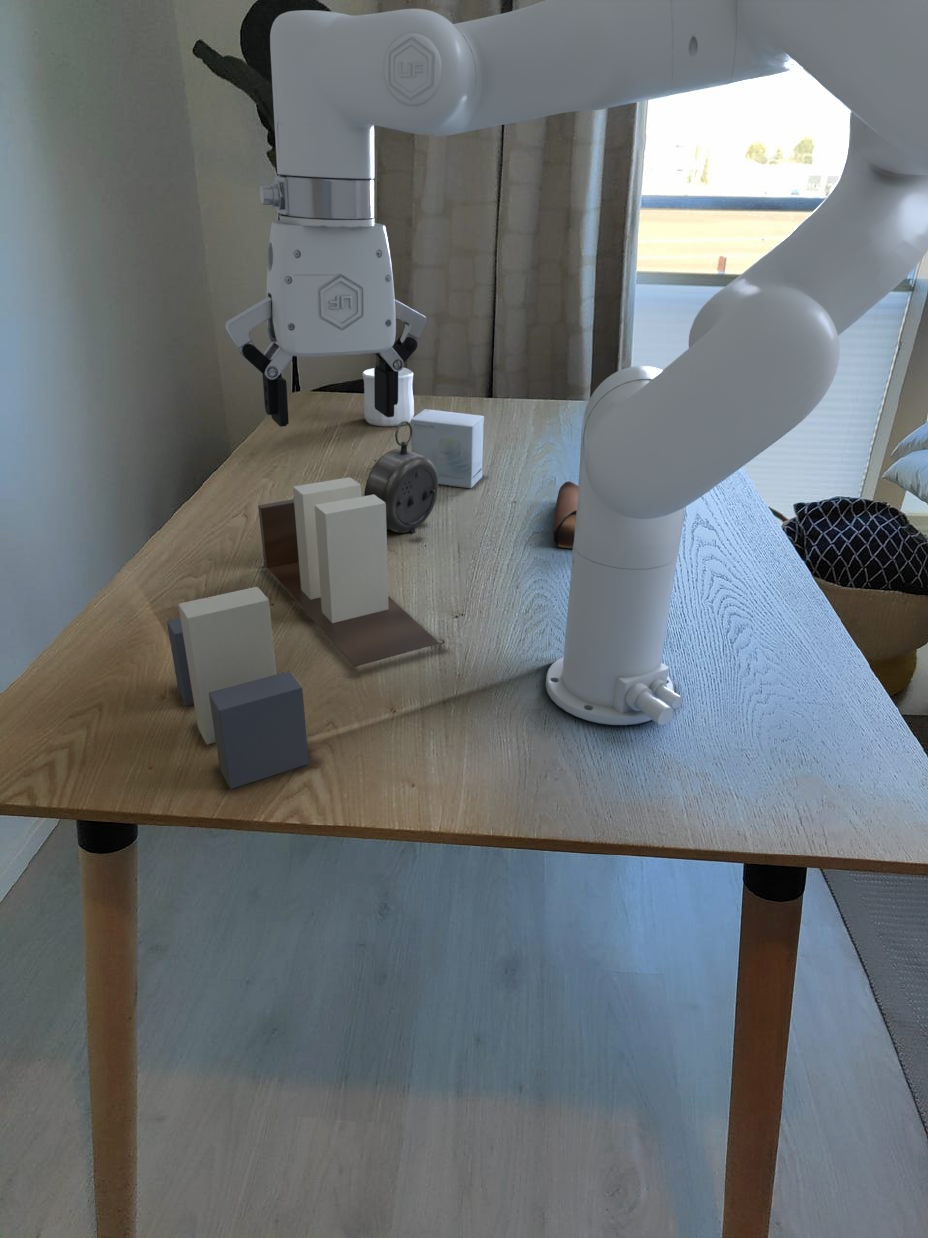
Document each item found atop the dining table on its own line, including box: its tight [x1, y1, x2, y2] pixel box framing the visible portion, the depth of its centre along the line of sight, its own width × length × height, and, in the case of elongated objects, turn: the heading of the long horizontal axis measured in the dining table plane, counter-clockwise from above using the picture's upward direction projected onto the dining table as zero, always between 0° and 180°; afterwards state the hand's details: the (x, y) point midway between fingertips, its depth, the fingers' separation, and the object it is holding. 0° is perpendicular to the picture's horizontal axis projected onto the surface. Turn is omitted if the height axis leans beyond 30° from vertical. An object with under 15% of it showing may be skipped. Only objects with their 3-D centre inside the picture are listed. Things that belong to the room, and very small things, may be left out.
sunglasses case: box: [552, 480, 579, 550], centre depth 124 cm, size 18×7×7 cm
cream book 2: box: [292, 476, 362, 600], centre depth 99 cm, size 3×7×13 cm, turn 120°
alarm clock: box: [363, 421, 439, 535], centre depth 116 cm, size 11×5×16 cm, turn 141°
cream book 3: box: [315, 495, 389, 623], centre depth 95 cm, size 3×7×13 cm, turn 120°
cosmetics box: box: [410, 408, 485, 489], centre depth 138 cm, size 10×6×10 cm, turn 71°
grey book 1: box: [166, 617, 194, 707], centre depth 83 cm, size 3×7×8 cm, turn 120°
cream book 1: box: [177, 586, 277, 746], centre depth 76 cm, size 3×7×13 cm, turn 121°
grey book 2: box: [209, 670, 310, 790], centre depth 72 cm, size 3×7×8 cm, turn 120°
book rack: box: [257, 498, 440, 667], centre depth 98 cm, size 28×10×9 cm, turn 30°
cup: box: [362, 367, 415, 427], centre depth 169 cm, size 10×10×10 cm
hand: (333, 417), depth 76 cm, fingers open, 9 cm apart
